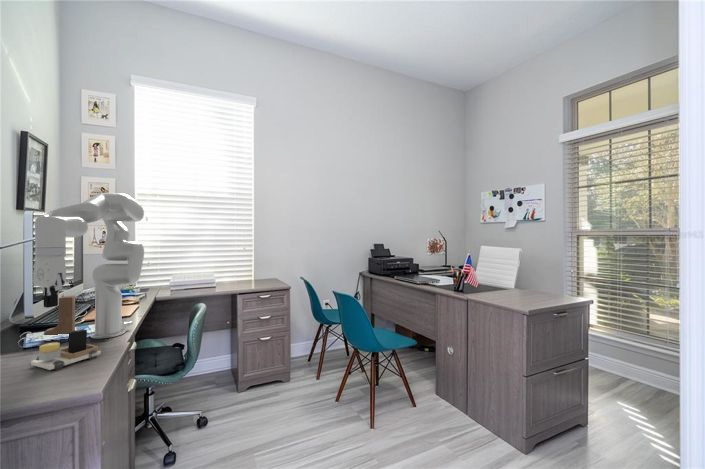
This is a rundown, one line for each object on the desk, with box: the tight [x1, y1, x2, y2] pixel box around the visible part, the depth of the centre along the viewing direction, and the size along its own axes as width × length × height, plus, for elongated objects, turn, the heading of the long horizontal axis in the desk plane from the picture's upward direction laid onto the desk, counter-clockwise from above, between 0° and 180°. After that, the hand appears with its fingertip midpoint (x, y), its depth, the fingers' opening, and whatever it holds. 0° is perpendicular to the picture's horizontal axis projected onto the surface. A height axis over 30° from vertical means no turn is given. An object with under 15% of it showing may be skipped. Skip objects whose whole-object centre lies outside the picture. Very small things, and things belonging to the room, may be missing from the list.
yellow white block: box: [38, 341, 61, 361], centre depth 108 cm, size 5×5×4 cm
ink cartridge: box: [67, 329, 88, 354], centre depth 116 cm, size 5×2×8 cm, turn 129°
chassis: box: [30, 343, 102, 371], centre depth 113 cm, size 15×11×5 cm
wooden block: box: [43, 295, 76, 336], centre depth 136 cm, size 9×4×18 cm, turn 118°
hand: (50, 306), depth 108 cm, fingers closed
